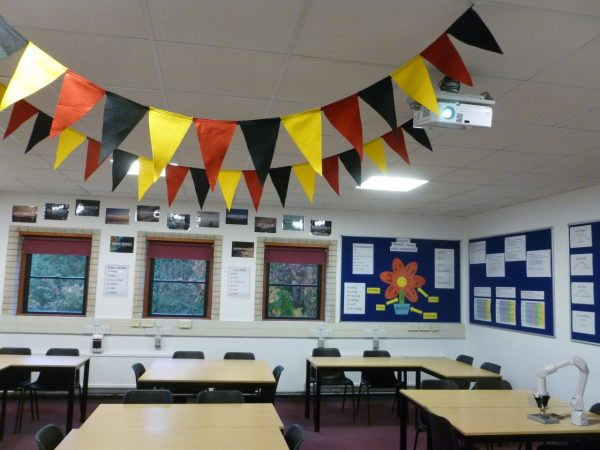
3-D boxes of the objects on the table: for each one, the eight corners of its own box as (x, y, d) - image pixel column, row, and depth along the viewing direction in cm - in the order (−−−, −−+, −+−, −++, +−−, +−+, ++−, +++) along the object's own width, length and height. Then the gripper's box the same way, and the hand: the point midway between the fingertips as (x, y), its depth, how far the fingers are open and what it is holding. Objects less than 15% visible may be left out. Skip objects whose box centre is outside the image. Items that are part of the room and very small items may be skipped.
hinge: (549, 409, 362) (544, 396, 362) (543, 411, 361) (539, 398, 361) (534, 403, 378) (530, 391, 379) (529, 406, 377) (525, 393, 378)
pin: (547, 420, 329) (547, 409, 330) (542, 420, 328) (542, 409, 329) (543, 418, 333) (542, 408, 334) (538, 418, 332) (538, 408, 332)
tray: (559, 423, 324) (559, 419, 324) (544, 424, 321) (544, 420, 321) (541, 416, 339) (541, 413, 340) (527, 417, 336) (527, 414, 336)
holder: (563, 419, 334) (563, 416, 334) (553, 420, 332) (553, 417, 332) (553, 415, 343) (553, 413, 343) (543, 416, 340) (543, 413, 340)
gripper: (541, 384, 340) (542, 404, 338) (530, 386, 332) (531, 407, 330) (551, 386, 335) (552, 406, 333) (540, 388, 326) (541, 409, 324)
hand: (542, 407), depth 331 cm, fingers open, 7 cm apart
